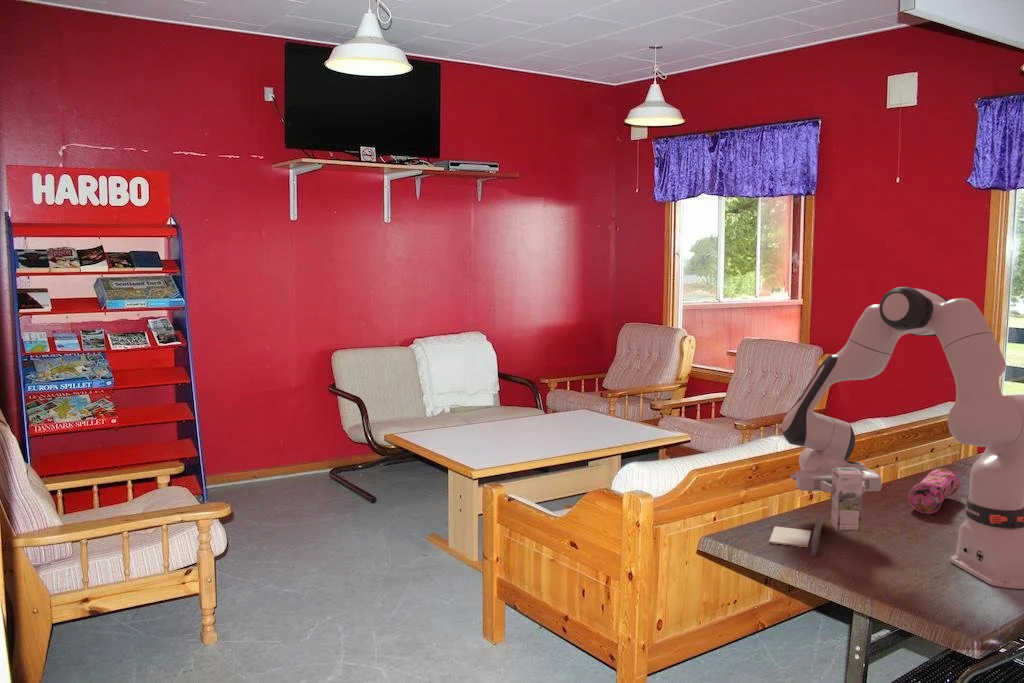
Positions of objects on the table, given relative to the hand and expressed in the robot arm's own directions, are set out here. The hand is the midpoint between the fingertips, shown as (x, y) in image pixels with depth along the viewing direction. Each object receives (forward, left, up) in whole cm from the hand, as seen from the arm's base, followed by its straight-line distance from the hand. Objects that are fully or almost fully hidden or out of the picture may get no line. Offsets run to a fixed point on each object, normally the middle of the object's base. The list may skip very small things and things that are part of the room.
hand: (847, 489), depth 209 cm
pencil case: (+35, -36, -15) cm, 52 cm away
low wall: (+3, +6, -14) cm, 16 cm away
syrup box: (+1, 0, -10) cm, 10 cm away
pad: (+5, +12, -14) cm, 19 cm away
